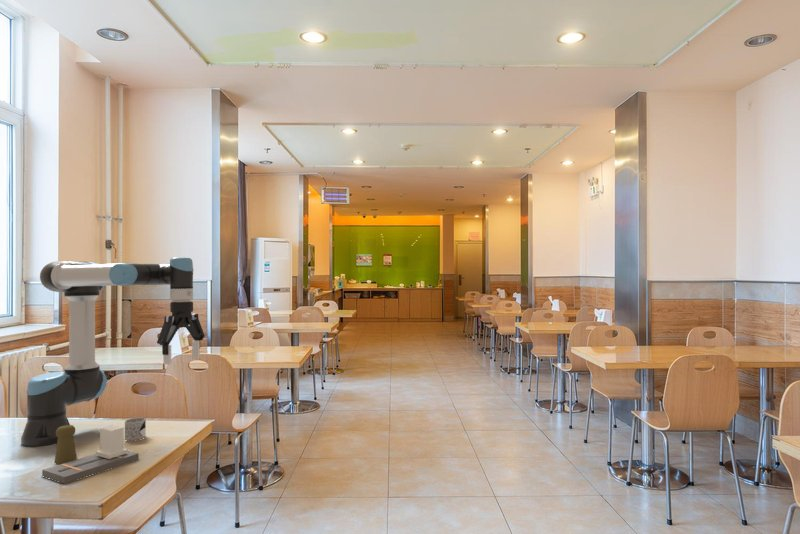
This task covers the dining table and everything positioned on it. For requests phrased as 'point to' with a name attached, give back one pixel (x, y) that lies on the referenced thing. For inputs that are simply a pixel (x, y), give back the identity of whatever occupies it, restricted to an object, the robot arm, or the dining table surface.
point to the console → (86, 467)
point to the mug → (135, 429)
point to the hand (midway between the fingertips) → (182, 361)
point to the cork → (65, 445)
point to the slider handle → (111, 442)
